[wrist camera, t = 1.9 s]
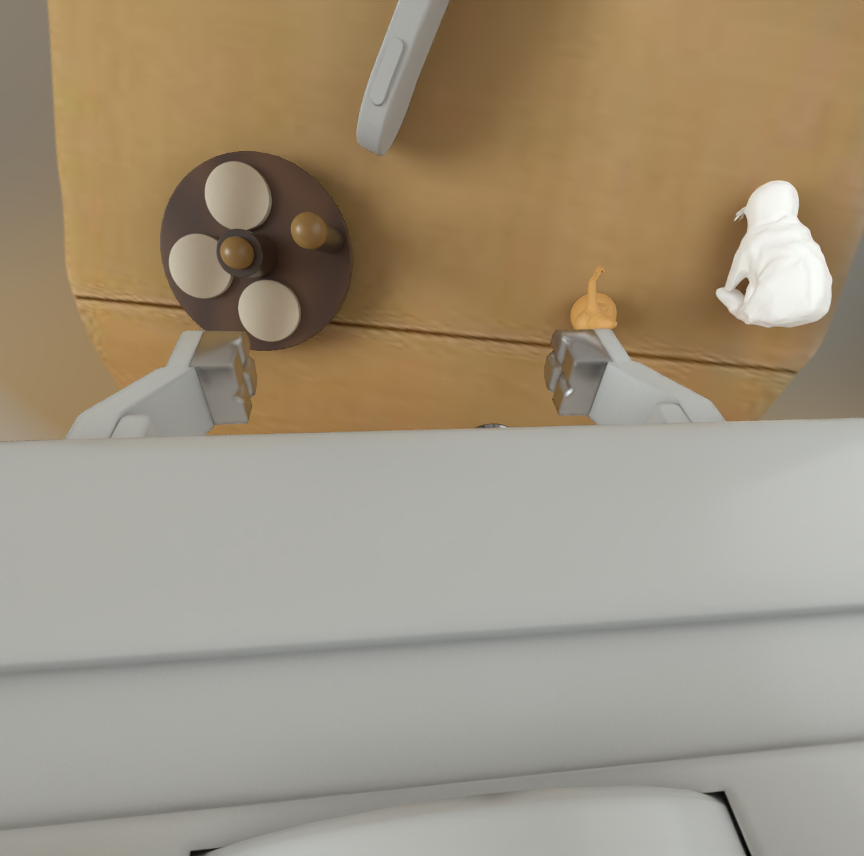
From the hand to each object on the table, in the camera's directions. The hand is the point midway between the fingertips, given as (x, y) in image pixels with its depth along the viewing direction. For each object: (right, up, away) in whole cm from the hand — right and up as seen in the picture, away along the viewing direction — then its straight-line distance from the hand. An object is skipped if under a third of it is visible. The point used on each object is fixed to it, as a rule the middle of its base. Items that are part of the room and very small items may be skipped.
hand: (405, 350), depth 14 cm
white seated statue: (+30, +14, +33) cm, 46 cm away
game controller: (0, +29, +28) cm, 41 cm away
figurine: (+14, +9, +34) cm, 38 cm away
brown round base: (-14, +13, +30) cm, 36 cm away
